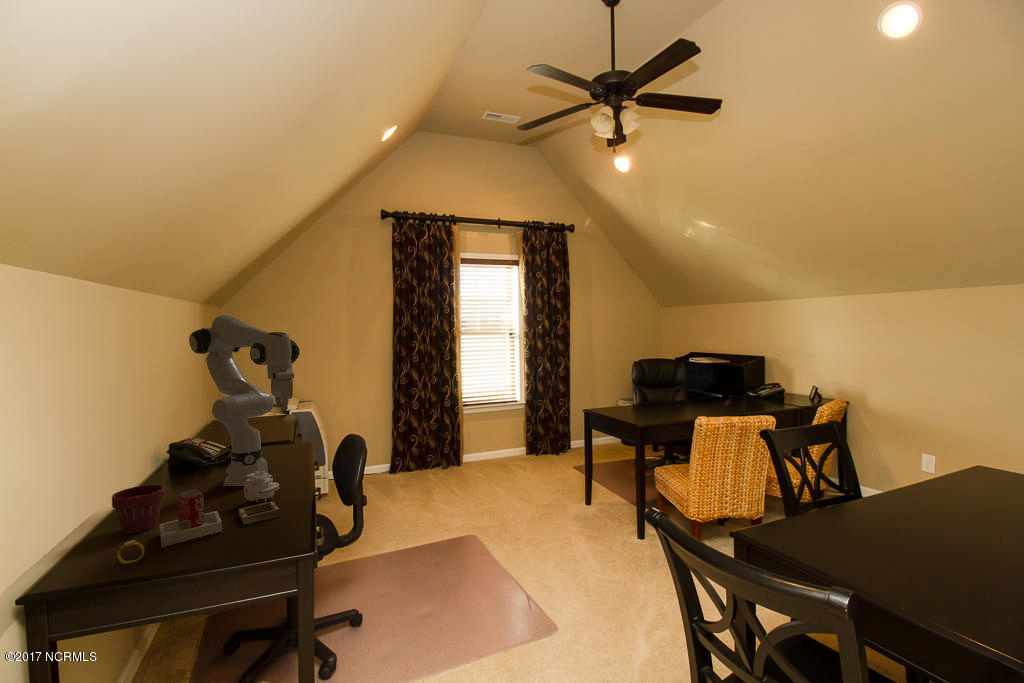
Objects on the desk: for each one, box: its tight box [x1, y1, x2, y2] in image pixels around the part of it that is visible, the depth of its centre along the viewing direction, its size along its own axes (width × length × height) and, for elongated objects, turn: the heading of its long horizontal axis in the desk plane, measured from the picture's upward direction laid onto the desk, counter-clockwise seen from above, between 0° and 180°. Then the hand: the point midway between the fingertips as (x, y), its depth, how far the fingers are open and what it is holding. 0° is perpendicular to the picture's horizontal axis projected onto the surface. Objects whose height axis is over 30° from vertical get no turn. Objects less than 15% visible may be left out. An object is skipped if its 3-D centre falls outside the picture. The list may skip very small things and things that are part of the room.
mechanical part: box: [243, 471, 280, 503], centre depth 181 cm, size 11×12×12 cm
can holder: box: [238, 500, 281, 526], centre depth 165 cm, size 11×11×2 cm
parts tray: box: [159, 510, 223, 549], centre depth 153 cm, size 13×16×4 cm
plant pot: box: [111, 483, 166, 534], centre depth 159 cm, size 14×14×13 cm
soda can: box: [177, 488, 205, 530], centre depth 153 cm, size 7×7×12 cm
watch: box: [116, 539, 145, 565], centre depth 134 cm, size 6×3×6 cm, turn 116°
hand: (282, 408), depth 183 cm, fingers open, 8 cm apart
